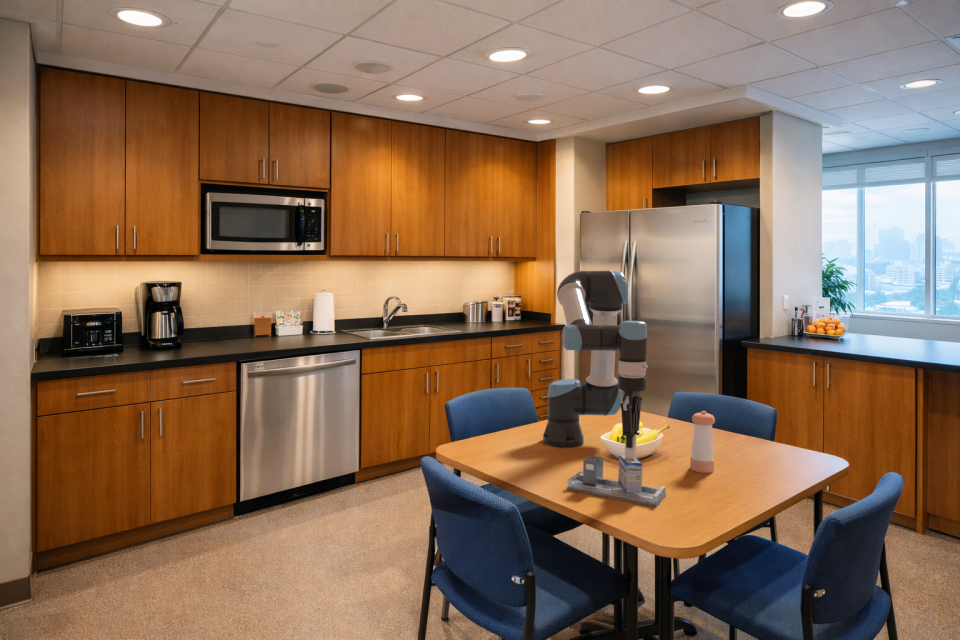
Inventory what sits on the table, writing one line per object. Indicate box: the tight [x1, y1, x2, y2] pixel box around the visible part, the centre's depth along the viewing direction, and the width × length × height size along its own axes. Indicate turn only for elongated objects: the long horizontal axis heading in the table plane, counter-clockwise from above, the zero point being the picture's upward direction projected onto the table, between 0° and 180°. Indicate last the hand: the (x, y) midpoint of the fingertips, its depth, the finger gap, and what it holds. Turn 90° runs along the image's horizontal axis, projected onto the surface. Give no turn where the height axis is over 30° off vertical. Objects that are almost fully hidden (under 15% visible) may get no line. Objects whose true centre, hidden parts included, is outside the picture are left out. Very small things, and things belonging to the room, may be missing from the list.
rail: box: [566, 455, 667, 508], centre depth 177 cm, size 26×10×9 cm, turn 59°
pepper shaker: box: [689, 410, 716, 474], centre depth 198 cm, size 7×7×19 cm
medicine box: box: [617, 454, 643, 493], centre depth 175 cm, size 8×4×9 cm, turn 5°
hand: (630, 457), depth 174 cm, fingers closed
